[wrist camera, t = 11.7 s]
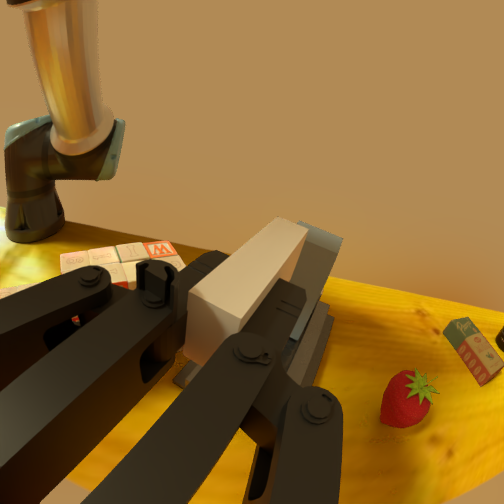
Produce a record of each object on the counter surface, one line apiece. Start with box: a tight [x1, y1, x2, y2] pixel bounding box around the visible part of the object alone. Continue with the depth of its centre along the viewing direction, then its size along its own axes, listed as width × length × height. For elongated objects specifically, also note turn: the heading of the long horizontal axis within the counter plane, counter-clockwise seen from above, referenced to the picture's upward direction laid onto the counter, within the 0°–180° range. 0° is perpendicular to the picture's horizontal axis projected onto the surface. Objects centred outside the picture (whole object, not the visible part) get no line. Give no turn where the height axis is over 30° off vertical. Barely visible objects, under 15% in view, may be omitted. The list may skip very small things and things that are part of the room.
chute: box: [173, 289, 334, 389], centre depth 33 cm, size 14×23×5 cm, turn 155°
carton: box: [443, 317, 504, 387], centre depth 38 cm, size 8×16×4 cm, turn 11°
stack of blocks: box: [0, 240, 186, 352], centre depth 24 cm, size 21×6×12 cm, turn 125°
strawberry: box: [380, 368, 440, 428], centre depth 24 cm, size 6×8×10 cm
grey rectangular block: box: [289, 221, 343, 340], centre depth 35 cm, size 6×5×14 cm
